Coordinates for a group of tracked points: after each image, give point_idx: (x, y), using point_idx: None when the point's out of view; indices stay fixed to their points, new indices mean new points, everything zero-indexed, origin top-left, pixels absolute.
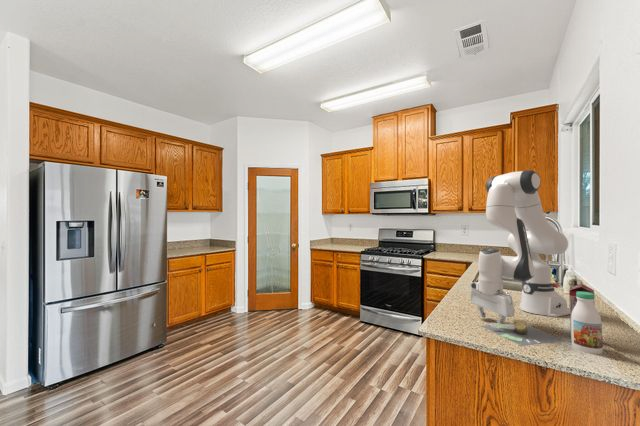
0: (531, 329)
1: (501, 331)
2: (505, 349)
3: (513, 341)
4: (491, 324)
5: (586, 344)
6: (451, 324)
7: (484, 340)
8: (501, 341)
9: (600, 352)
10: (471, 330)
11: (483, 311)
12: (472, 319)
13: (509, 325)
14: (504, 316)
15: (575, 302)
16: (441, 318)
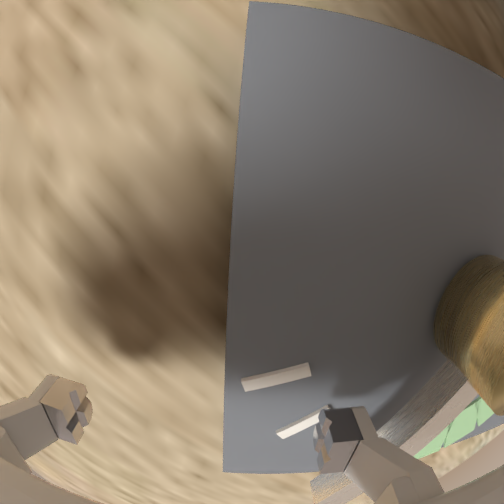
0: (466, 114)
1: (378, 425)
2: (453, 463)
3: (475, 433)
4: (337, 502)
5: None
6: (128, 496)
7: (362, 496)
8: None
9: None
10: (232, 493)
11: (33, 413)
12: (27, 355)
13: (449, 422)
14: (425, 489)
15: None
16: (45, 465)
